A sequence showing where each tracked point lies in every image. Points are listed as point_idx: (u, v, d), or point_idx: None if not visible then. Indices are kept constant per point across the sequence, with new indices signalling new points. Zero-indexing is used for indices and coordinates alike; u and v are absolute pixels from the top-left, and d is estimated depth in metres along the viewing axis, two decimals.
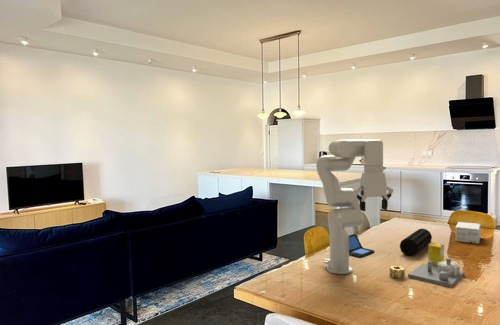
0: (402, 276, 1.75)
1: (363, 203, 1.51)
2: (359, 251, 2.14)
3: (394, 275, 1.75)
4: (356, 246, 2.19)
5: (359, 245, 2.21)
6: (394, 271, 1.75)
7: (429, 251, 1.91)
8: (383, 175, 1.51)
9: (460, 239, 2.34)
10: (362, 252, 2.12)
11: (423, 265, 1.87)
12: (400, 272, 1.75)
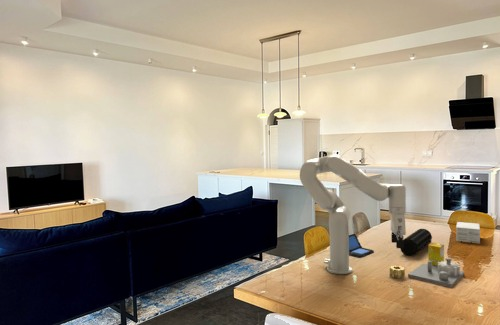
0: (402, 276, 1.75)
1: None
2: (358, 251, 2.14)
3: (394, 275, 1.75)
4: (355, 246, 2.19)
5: (358, 245, 2.21)
6: (394, 271, 1.75)
7: (429, 251, 1.91)
8: (394, 216, 1.73)
9: (461, 239, 2.34)
10: (361, 252, 2.12)
11: (423, 265, 1.87)
12: (400, 272, 1.75)
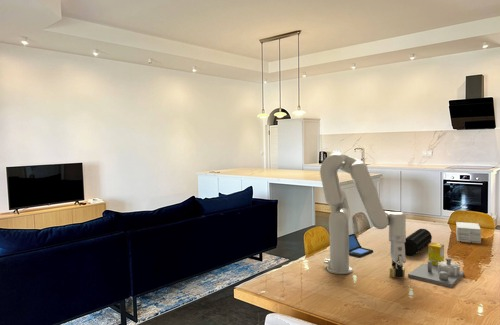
0: None
1: None
2: (358, 251, 2.14)
3: (394, 275, 1.75)
4: (355, 246, 2.20)
5: (358, 245, 2.22)
6: (394, 271, 1.75)
7: (429, 251, 1.91)
8: (394, 244, 1.74)
9: (462, 239, 2.33)
10: (361, 252, 2.12)
11: (423, 265, 1.87)
12: None
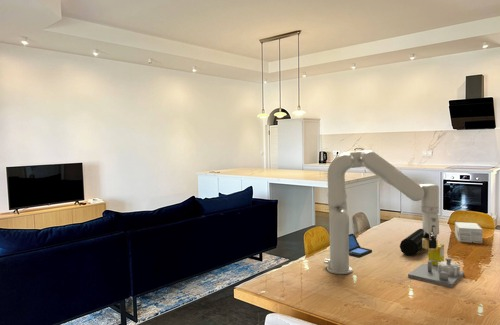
0: None
1: None
2: (357, 251, 2.15)
3: (427, 246, 1.75)
4: (354, 246, 2.20)
5: (357, 245, 2.22)
6: (427, 242, 1.75)
7: (429, 251, 1.91)
8: (427, 215, 1.74)
9: (464, 240, 2.33)
10: (360, 252, 2.13)
11: (423, 265, 1.87)
12: None
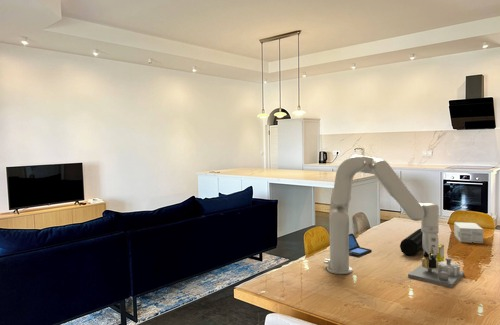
0: None
1: None
2: (357, 250, 2.15)
3: (427, 266, 1.76)
4: (353, 245, 2.20)
5: (356, 244, 2.22)
6: (427, 262, 1.76)
7: None
8: (427, 235, 1.74)
9: (465, 240, 2.32)
10: (360, 251, 2.13)
11: None
12: None
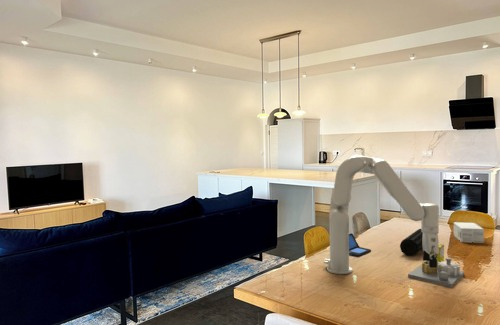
0: (435, 271, 1.76)
1: None
2: (356, 250, 2.15)
3: (427, 270, 1.76)
4: (353, 245, 2.20)
5: (356, 244, 2.23)
6: (427, 267, 1.76)
7: None
8: (427, 235, 1.74)
9: (466, 240, 2.32)
10: (359, 251, 2.13)
11: None
12: (433, 268, 1.75)
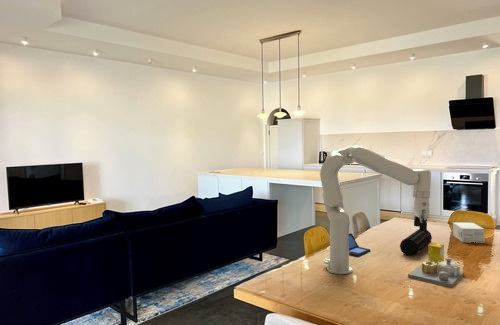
0: (435, 271, 1.76)
1: None
2: (356, 250, 2.15)
3: (427, 270, 1.76)
4: (352, 245, 2.21)
5: (355, 244, 2.23)
6: (427, 267, 1.76)
7: (429, 251, 1.91)
8: (418, 200, 1.78)
9: (467, 240, 2.32)
10: (359, 251, 2.13)
11: None
12: (433, 268, 1.75)
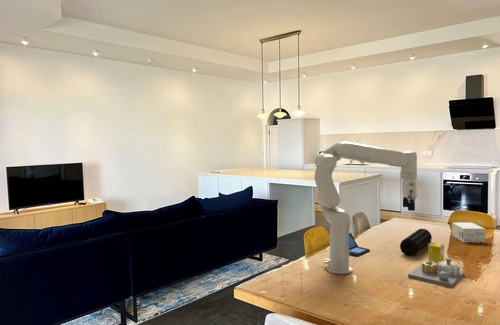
0: (435, 271, 1.76)
1: None
2: (355, 250, 2.16)
3: (427, 270, 1.76)
4: (352, 245, 2.21)
5: (355, 244, 2.23)
6: (427, 267, 1.76)
7: (429, 251, 1.91)
8: (406, 181, 1.85)
9: (468, 240, 2.31)
10: (358, 251, 2.14)
11: None
12: (433, 268, 1.75)
